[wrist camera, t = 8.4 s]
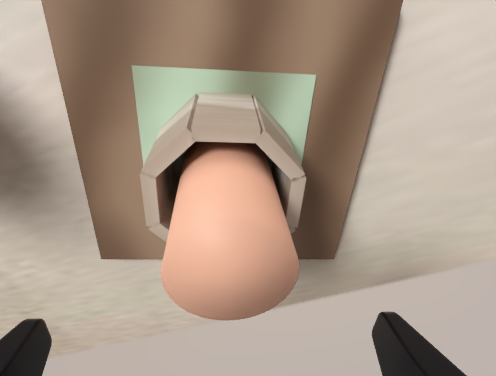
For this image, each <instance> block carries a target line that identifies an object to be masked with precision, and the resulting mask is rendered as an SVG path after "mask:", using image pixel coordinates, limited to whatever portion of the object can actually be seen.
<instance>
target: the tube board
mask: <svg viewBox="0 0 496 376" xmlns="http://www.w3.org/2000/svg"><path fill="white" fill-rule="evenodd" d="M41 1H42V5H43V10H44V14H45V18H46V22H47V27H48V31H49V35H50V40H51V44H52V48H53V53H54V57H55V61H56V66H57V70H58V74H59V79H60V83H61V87H62V91H63V96H64V100H65V104H66V109H67V113H68V117H69V122H70V126H71V130H72V135H73V139H74V143H75V148H76V152H77V156H78V160H79V165H80V169H81V173H82V178H83V182H84V186H85V191H86V195H87V199H88V204H89V208H90V212H91V216H92V221H93V225H94V229H95V234H96V238H97V242H98V247H99V251H100V255H101V259H163V257H164V252H165V247H166V242H167V238H168V233H169V228H170V223H171V218H172V214H173V209H174V204H175V199H176V194H177V190H178V185H179V180H180V175H181V171H182V166H183V161H184V156H185V151H186V150H187V149H188V148H189V147H190V146H191V145H192V144H193V143H194V142H195V141H200V142H232V143H256V144H257V145H258V146H259V147H260V148H261V149H262V150H263V151H264V152H265V154H266V157H267V160H268V163H269V167H270V170H271V173H272V176H273V179H274V183H275V186H276V189H277V192H278V195H279V199H280V202H281V205H282V208H283V211H284V215H285V218H286V221H287V224H288V227H289V231H290V234H291V237H292V240H293V244H294V247H295V250H296V253H297V256H298V259H334V257H335V253H336V250H337V246H338V242H339V238H340V235H341V231H342V227H343V223H344V220H345V216H346V212H347V208H348V205H349V201H350V197H351V194H352V190H353V186H354V182H355V179H356V175H357V171H358V167H359V164H360V160H361V156H362V152H363V149H364V145H365V141H366V137H367V134H368V130H369V126H370V123H371V119H372V115H373V111H374V108H375V104H376V100H377V96H378V93H379V89H380V85H381V81H382V78H383V74H384V70H385V67H386V63H387V59H388V55H389V52H390V48H391V44H392V40H393V37H394V33H395V29H396V25H397V22H398V18H399V14H400V10H401V7H402V3H403V0H41Z"/></svg>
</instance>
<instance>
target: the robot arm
mask: <svg viewBox="0 0 496 376" xmlns="http://www.w3.org/2000/svg"><path fill="white" fill-rule="evenodd" d="M372 338H373V342H374V346H375V349H376V353H377V357H378V360H379V364H380V368H381V371H382V375H383V376H466V375H465V374H464V373H463V372H462V371H461V370H459V369H458V368H457V367H456V366H455V365H454V364H453V363H452V362H450V361H449V360H448V359H447V358H446V357H445V356H444V355H443V354H442V353H440V352H439V351H438V350H437V349H436V348H435V347H434V346H433V345H432V344H431V343H429V342H428V341H427V340H426V339H425V338H424V337H423V336H422V335H420V334H419V333H418V332H417V331H416V330H415V329H414V328H413V327H412V326H410V325H409V324H408V323H407V322H406V321H405V320H404V319H402V317H400V316H399V315H398V314H397V313H395V312H381V313H379V315H378V317H377V320H376V322H375V325H374V327H373V330H372ZM51 343H52V340H51V336H50V333H49V331H48V328H47V326H46V323H45V321H44V320H43V319H26V320H24V321H22V322H21V323H19V324H18V325H17V326H16V327H15V328H13V329H12V330H11V331H10V332H9V333H8V334H6V335H5V336H4V337H3V338H2V339H0V376H42V374H43V370H44V367H45V364H46V361H47V358H48V355H49V351H50V348H51Z"/></svg>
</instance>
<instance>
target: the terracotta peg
mask: <svg viewBox="0 0 496 376" xmlns="http://www.w3.org/2000/svg"><path fill="white" fill-rule="evenodd" d="M298 273H299V261H298V256H297V253H296V250H295V247H294V244H293V240H292V237H291V234H290V231H289V227H288V224H287V221H286V218H285V215H284V211H283V208H282V205H281V202H280V199H279V195H278V192H277V189H276V186H275V183H274V179H273V176H272V173H271V170H270V167H269V163H268V160H267V157H266V154H265V152H264V151H263V150H262V149H261V148H260V147H259V146H258V145H257V144H256V143H232V142H200V141H195V142H194V143H193V144H192V145H191V146H190V147H189V148H188V149H187V150H186V151H185V156H184V161H183V166H182V171H181V175H180V180H179V185H178V190H177V194H176V199H175V204H174V209H173V214H172V218H171V223H170V228H169V233H168V238H167V242H166V247H165V252H164V257H163V262H162V266H161V278H162V283H163V286H164V288H165V290H166V292H167V294H168V295H169V296H170V298H171V299H172V300H173V301H174V302H175V303H176V304H177V305H179V306H180V307H181V308H183V309H185V310H186V311H188V312H190V313H192V314H195V315H197V316H200V317H204V318H208V319H215V320H237V319H244V318H249V317H252V316H256V315H259V314H261V313H264V312H266V311H268V310H270V309H271V308H273V307H274V306H276V305H278V304H279V303H280V302H281V301H282V300H284V299H285V298H286V296H287V295H288V294H289V293H290V292H291V290H292V289H293V287H294V285H295V283H296V281H297V278H298Z"/></svg>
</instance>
